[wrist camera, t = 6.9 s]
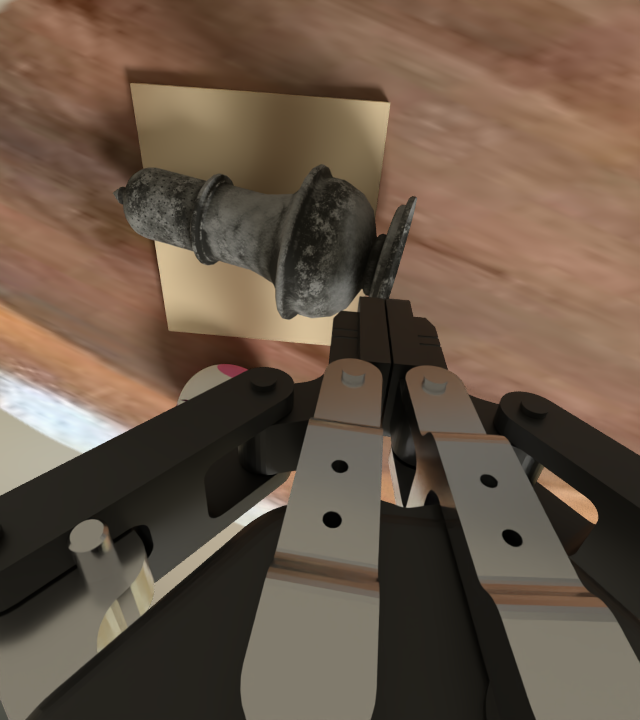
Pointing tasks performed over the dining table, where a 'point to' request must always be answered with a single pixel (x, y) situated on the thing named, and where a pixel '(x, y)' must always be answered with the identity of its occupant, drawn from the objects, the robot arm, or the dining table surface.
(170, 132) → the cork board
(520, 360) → the dining table surface
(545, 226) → the dining table surface
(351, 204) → the grey chess piece
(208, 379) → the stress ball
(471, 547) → the robot arm
